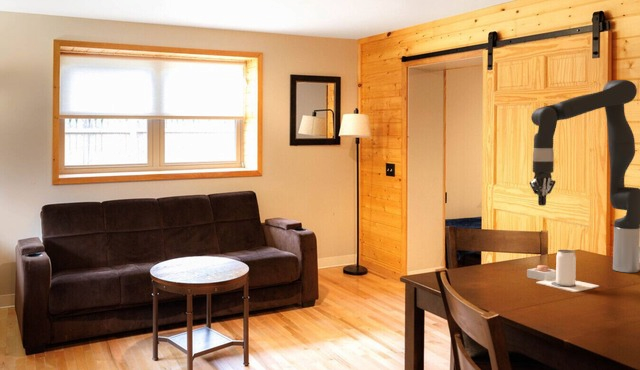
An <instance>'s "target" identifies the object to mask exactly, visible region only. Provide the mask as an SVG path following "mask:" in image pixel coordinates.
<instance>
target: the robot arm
mask: <svg viewBox="0 0 640 370" xmlns="http://www.w3.org/2000/svg"><path fill="white" fill-rule="evenodd" d="M637 93H638V89H637V86H636V84H635V83H634V82H633V81H632V80H626V79H615V80H613V79H612V80H609V81H607V82H606V83H605V85H604V87H603V89H602V90H601V91H597V92H593V93H589V94H584V95H579V96H574V97H571V98H568V99H566V100H563V101H560V102H557V103H554V104H550V105H545V106H541V107H539V108H536V109H534V111H533V112H532V113H531V122H532V123H533V125H535V126H538V130H537V133H535V134H534V136H533V151H532V172H533V173H534V176H533V180H532V181H529V185H530V188H531V189H532V192H533V193H534V194H535V195H537V197H538V198H537V199H538V200H537V203H538V204H537V205H539V206H546V204H547V196H548V194H549V195H550V194H551V193H552V191H553V189H554V187H555V184H556V180H553V179H552V177H553V176H552V173H554V164H555V163H554V160H555V159H554V158H555V155H554V154H555V153H554V136H555V132H556V129H557V126H558V125H557V124H558V121H560V120H561V121H563V120H568V119H571V118H575V117H578V116H581V115H583V114H587V113H589V112H593V111H596V110H598V109H602V108H604V109H605V110H604V111H605V116H606V125H607V137H608V138H607V140H608V154H609V167H610V168H609V169H610V171H609V173H610V178H609V180H610V182H609V185H610V186H609V200H610V204H611V206H612V208H613V209H614V210H615V209H616V210H621V211H626V212H625V216H622V217H620V218H616V219H615V220H614V223H613V249H612V270H613V271H616V272H621V273H638V272H639V271H640V188H639V187H634V186H632V187H631V186H626V185H625V175H626V172H627V170H628V169H629V167H630V165H631V164H632V162H633V159H634V157H635V156H636V145H635V144H636V142H635V135H634V133H633V131H632V128H631V126H630V124H629V122H628V119H627V117H626V114H625V105H626V104H629V103H630V102H632V101H634V99H635V98H636V96H637Z"/></svg>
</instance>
